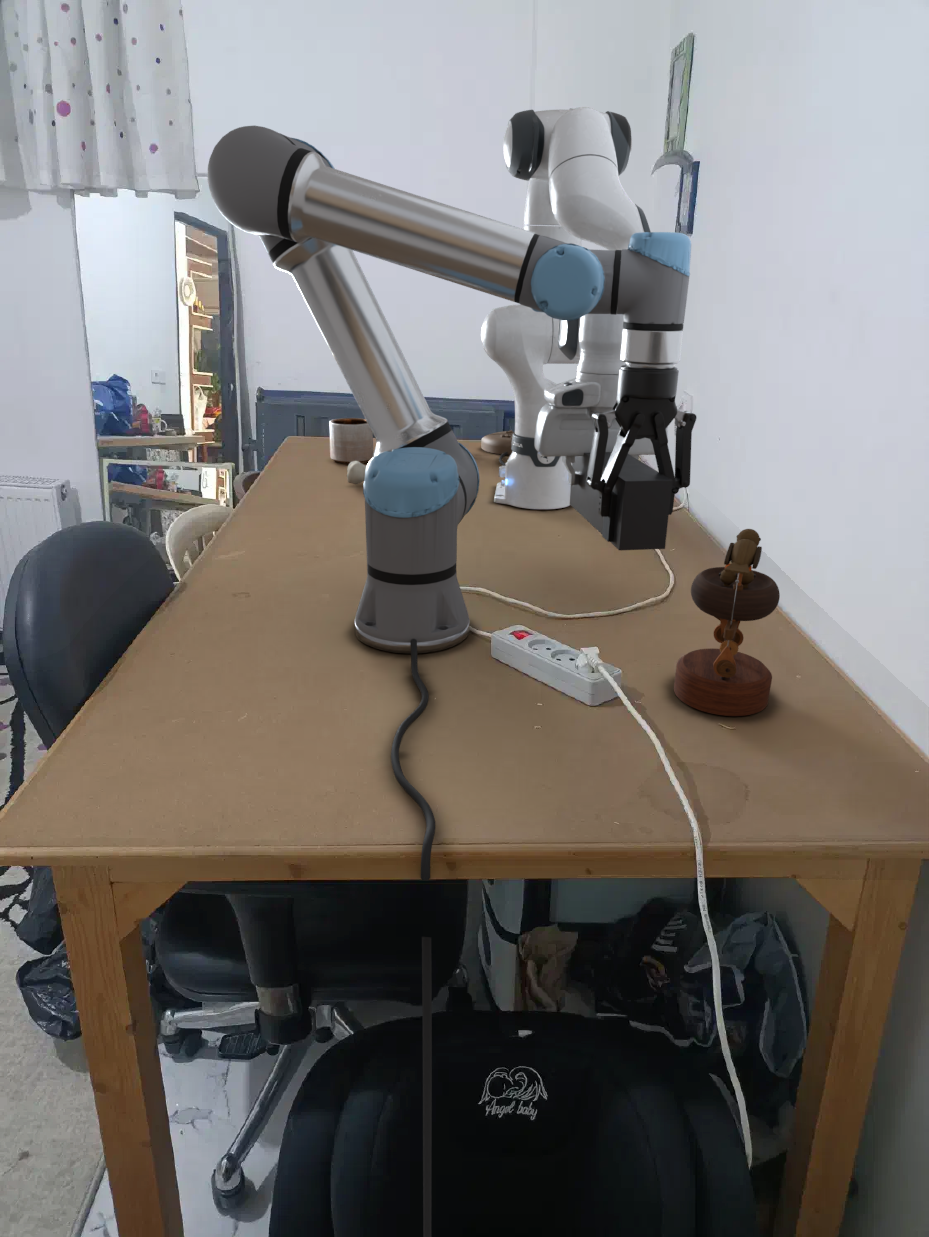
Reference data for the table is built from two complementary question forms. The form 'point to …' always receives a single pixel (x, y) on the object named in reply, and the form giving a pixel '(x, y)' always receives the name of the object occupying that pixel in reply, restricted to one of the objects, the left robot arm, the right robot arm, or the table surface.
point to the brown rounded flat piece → (498, 442)
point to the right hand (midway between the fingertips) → (598, 483)
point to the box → (628, 503)
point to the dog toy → (356, 472)
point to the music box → (729, 635)
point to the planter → (350, 440)
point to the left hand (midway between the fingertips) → (632, 537)
